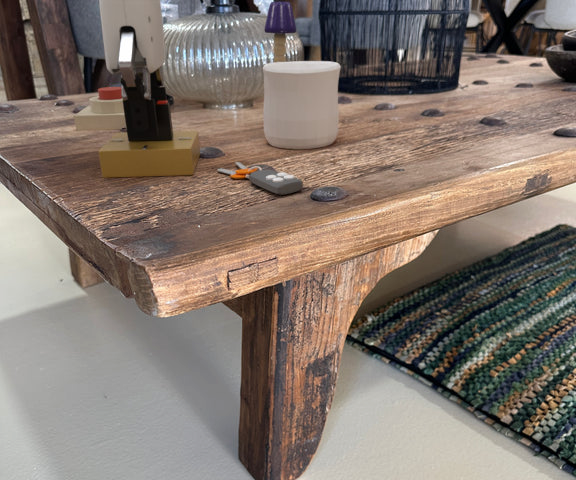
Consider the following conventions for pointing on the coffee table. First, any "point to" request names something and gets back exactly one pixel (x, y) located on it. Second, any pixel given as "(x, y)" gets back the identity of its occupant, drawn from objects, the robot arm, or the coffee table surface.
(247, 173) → the key chain
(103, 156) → the plate
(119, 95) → the release button
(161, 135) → the lock turn
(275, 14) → the toy lamp
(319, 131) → the cup
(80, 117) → the box
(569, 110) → the coffee table surface
